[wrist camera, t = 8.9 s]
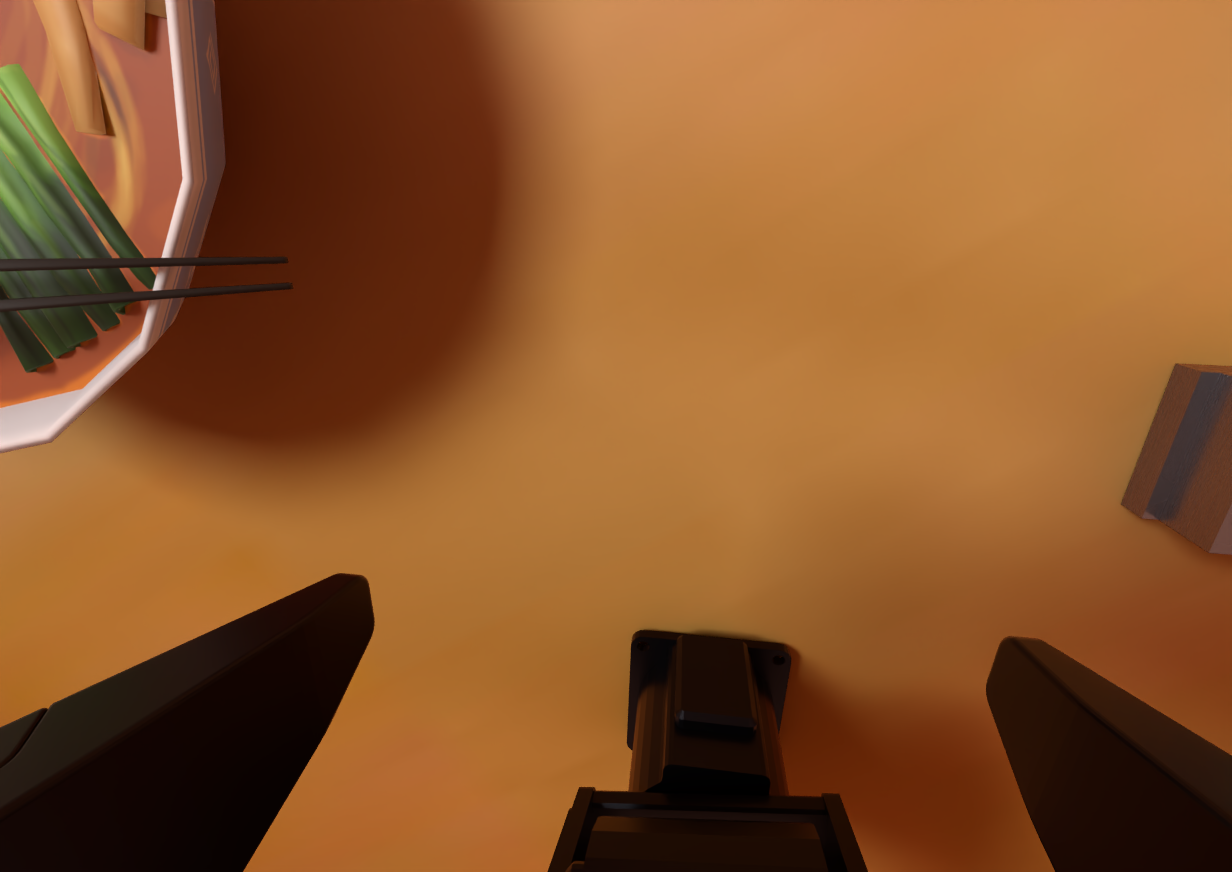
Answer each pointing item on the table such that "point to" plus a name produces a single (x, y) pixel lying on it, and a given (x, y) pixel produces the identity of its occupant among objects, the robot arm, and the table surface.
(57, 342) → the ramen bowl
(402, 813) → the table surface
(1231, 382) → the grey frame
